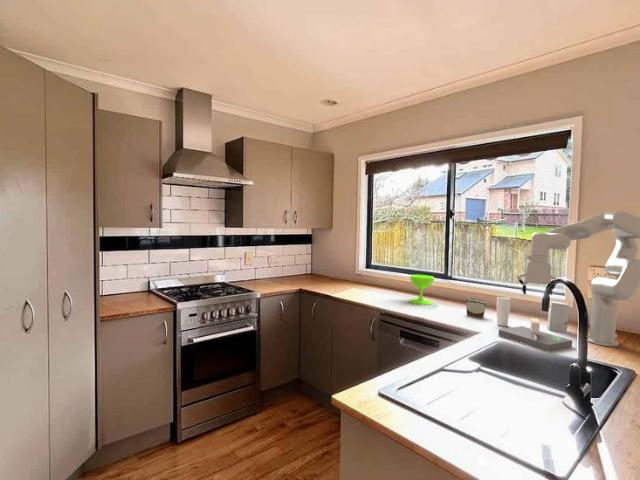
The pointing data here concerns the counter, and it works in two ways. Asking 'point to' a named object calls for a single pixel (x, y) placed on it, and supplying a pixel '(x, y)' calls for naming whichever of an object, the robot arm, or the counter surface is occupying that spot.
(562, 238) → the robot arm
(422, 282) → the wineglass
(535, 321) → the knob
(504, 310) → the drinking glass
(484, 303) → the food container
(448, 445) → the counter surface
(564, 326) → the skincare box
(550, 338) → the dial plate
